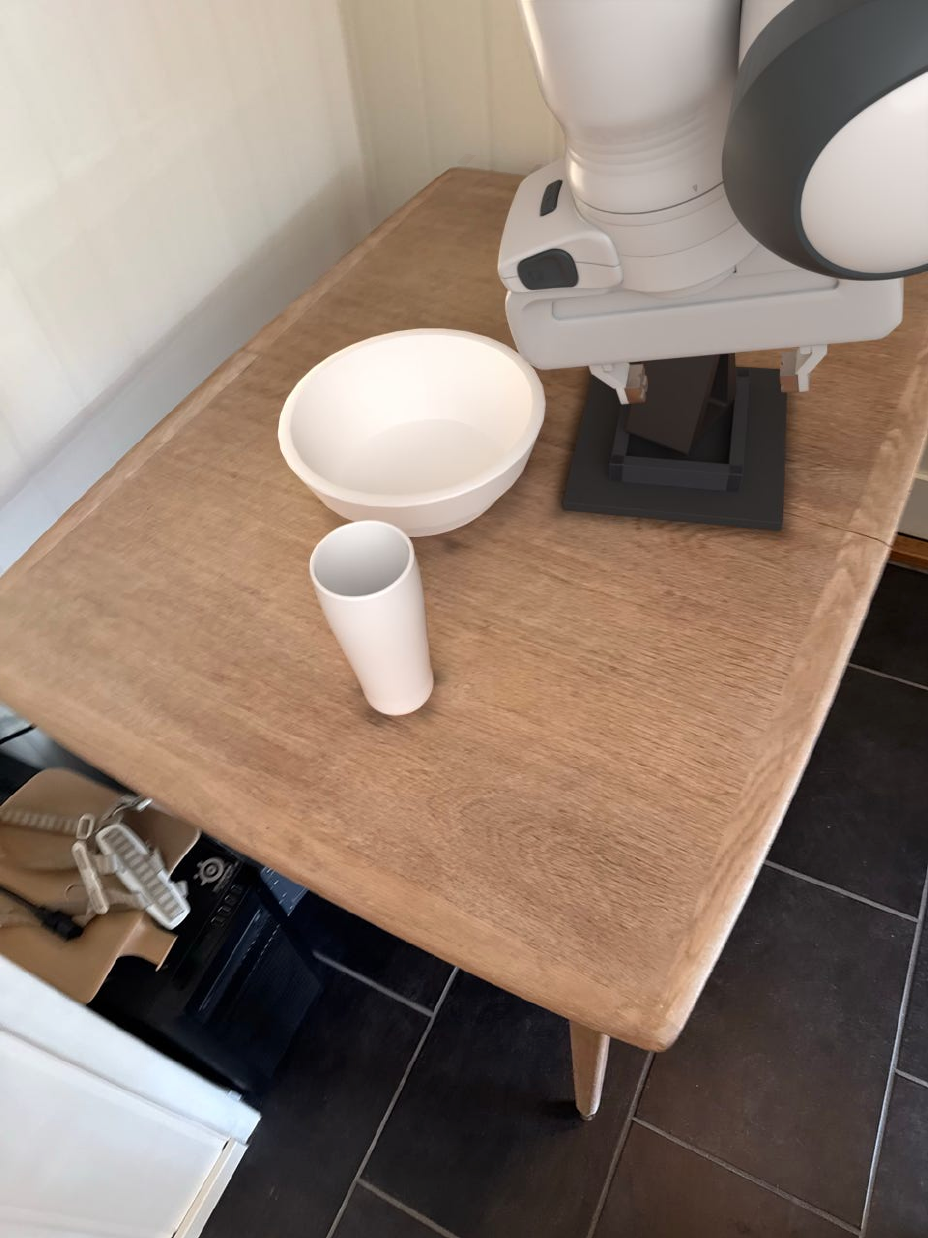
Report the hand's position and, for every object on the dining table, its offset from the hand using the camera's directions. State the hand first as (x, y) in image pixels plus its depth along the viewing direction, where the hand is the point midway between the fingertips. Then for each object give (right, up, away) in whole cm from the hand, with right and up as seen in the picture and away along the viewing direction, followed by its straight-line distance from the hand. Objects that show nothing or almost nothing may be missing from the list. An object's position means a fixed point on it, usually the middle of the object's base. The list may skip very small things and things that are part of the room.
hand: (712, 389), depth 53 cm
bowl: (-19, -1, +27) cm, 33 cm away
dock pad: (+4, +2, +27) cm, 27 cm away
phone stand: (+4, +4, +24) cm, 25 cm away
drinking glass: (-20, -19, +13) cm, 31 cm away
